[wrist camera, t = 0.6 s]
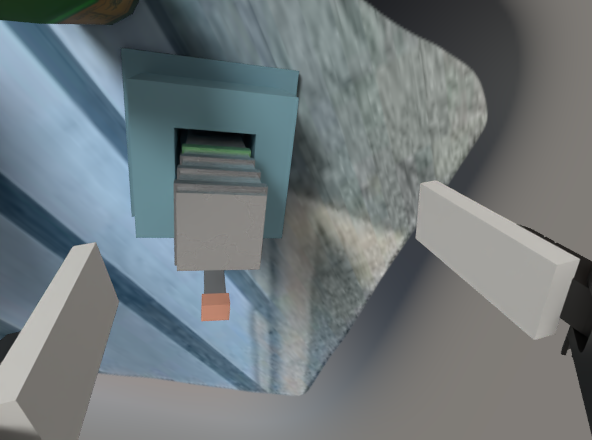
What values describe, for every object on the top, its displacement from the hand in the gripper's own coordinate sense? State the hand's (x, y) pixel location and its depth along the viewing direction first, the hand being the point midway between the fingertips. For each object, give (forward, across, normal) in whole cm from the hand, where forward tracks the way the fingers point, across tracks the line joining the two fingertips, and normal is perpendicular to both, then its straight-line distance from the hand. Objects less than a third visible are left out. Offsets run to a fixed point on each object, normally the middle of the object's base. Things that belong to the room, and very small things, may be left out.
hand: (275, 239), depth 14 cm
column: (+29, -2, -3) cm, 29 cm away
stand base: (+29, -2, -3) cm, 30 cm away
